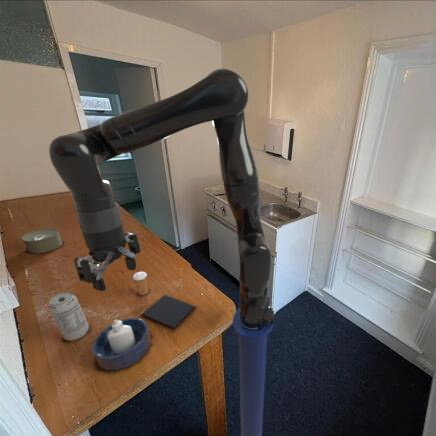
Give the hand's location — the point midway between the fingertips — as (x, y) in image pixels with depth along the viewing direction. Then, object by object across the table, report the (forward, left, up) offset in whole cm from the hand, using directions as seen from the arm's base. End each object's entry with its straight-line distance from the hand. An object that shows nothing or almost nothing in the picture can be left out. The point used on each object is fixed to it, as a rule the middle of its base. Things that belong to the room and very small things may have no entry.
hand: (117, 278), depth 61 cm
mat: (+1, -14, -26) cm, 30 cm away
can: (+83, -21, -27) cm, 90 cm away
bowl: (+2, +2, -26) cm, 26 cm away
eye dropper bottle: (+2, +2, -26) cm, 26 cm away
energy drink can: (+20, +4, -27) cm, 34 cm away
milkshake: (+17, -17, -27) cm, 36 cm away
